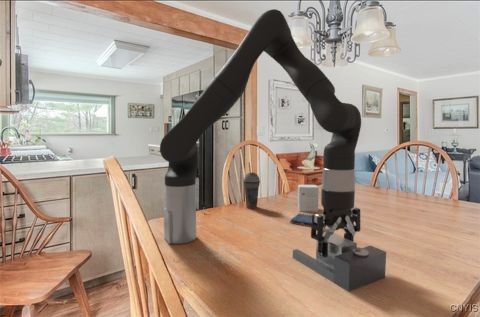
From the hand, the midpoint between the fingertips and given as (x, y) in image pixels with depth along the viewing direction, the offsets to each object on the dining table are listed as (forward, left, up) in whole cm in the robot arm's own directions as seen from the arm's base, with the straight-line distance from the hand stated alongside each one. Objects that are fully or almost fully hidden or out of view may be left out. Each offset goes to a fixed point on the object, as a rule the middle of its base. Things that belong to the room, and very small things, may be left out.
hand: (335, 252), depth 67 cm
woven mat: (+18, +30, -4) cm, 35 cm away
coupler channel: (0, 0, -4) cm, 4 cm away
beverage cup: (+10, +57, -4) cm, 58 cm away
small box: (+29, +42, -4) cm, 51 cm away
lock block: (0, 0, -4) cm, 4 cm away
